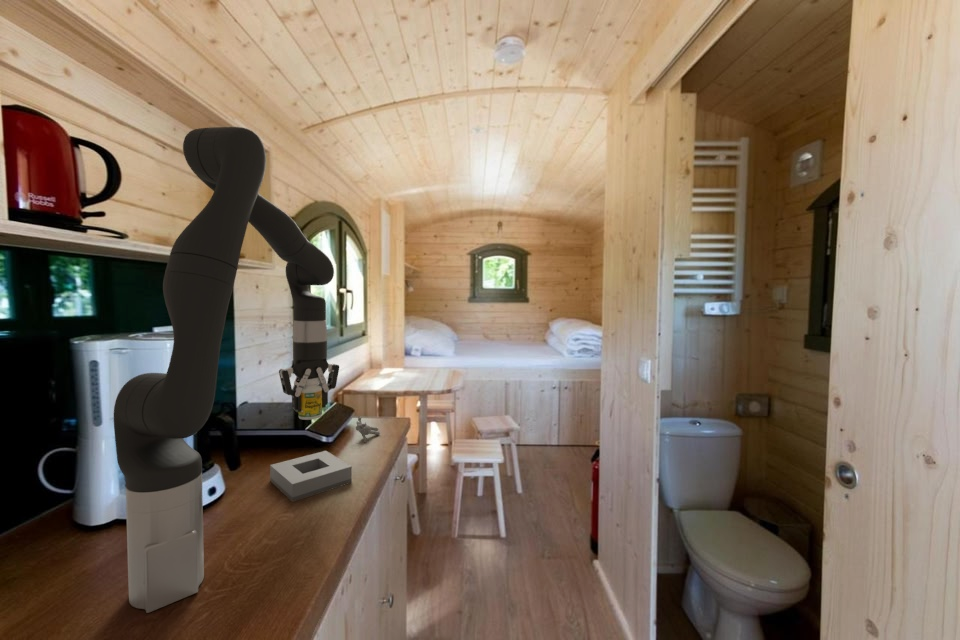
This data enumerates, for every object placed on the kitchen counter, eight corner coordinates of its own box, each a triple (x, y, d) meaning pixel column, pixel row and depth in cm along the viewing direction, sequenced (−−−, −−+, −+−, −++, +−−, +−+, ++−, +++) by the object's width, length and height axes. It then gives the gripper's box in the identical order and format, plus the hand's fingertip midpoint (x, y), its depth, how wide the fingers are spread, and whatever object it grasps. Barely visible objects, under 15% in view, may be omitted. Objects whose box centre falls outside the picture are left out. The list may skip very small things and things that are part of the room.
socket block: (351, 482, 100) (351, 466, 100) (292, 501, 90) (292, 484, 90) (325, 465, 110) (325, 450, 110) (270, 481, 100) (270, 465, 100)
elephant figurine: (387, 439, 131) (365, 436, 125) (376, 450, 133) (353, 447, 126) (379, 414, 138) (358, 409, 131) (368, 424, 139) (346, 421, 133)
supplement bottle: (316, 412, 103) (316, 374, 102) (325, 417, 99) (325, 377, 99) (294, 416, 99) (294, 377, 99) (303, 421, 95) (302, 380, 95)
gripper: (284, 342, 90) (285, 418, 91) (345, 339, 101) (345, 407, 101) (272, 339, 96) (273, 411, 97) (331, 336, 106) (331, 401, 107)
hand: (310, 408), depth 99 cm, fingers closed on supplement bottle, 5 cm apart
